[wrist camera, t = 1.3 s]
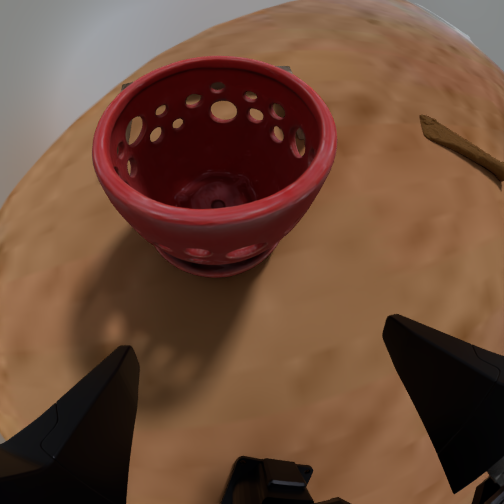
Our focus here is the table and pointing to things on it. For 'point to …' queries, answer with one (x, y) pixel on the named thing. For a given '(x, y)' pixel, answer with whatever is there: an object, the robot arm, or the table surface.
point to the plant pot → (215, 161)
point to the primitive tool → (460, 145)
